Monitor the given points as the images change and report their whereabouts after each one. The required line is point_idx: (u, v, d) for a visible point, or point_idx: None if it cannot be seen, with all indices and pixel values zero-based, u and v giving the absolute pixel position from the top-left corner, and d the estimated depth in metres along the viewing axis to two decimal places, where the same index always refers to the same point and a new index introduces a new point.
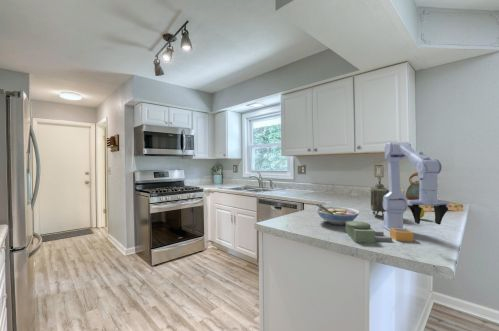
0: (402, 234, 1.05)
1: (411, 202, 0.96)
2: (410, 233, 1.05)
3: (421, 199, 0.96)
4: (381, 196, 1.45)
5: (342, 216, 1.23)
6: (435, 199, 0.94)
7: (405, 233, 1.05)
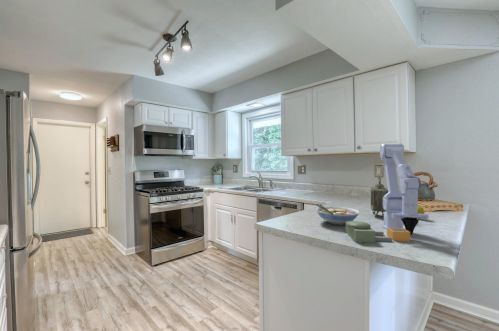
0: (399, 233, 1.05)
1: (394, 215, 1.07)
2: (407, 233, 1.04)
3: (403, 212, 1.07)
4: (381, 196, 1.45)
5: (342, 216, 1.23)
6: (416, 213, 1.05)
7: (402, 233, 1.05)
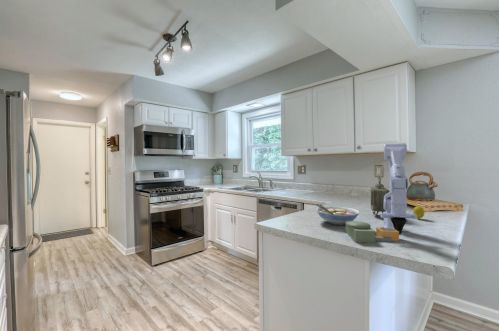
0: (388, 233, 1.05)
1: (383, 215, 1.08)
2: (396, 232, 1.05)
3: (392, 212, 1.08)
4: (381, 196, 1.45)
5: (342, 216, 1.23)
6: (404, 212, 1.05)
7: (391, 232, 1.05)
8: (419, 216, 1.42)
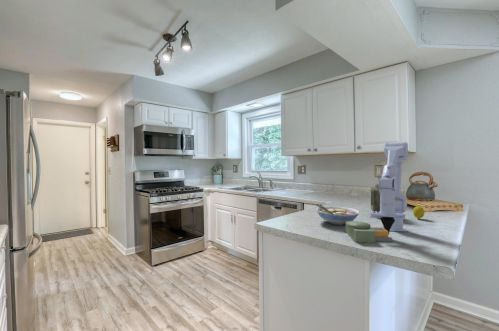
0: (377, 233, 1.06)
1: (372, 215, 1.08)
2: (385, 232, 1.06)
3: (381, 212, 1.08)
4: None
5: (342, 216, 1.23)
6: (392, 212, 1.06)
7: (380, 232, 1.06)
8: (419, 216, 1.42)
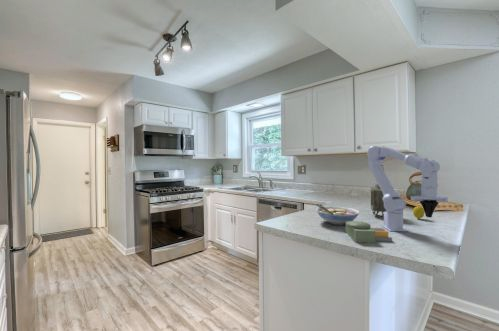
0: (377, 233, 1.06)
1: (414, 198, 1.09)
2: (385, 232, 1.06)
3: (423, 195, 1.09)
4: (381, 196, 1.45)
5: (342, 216, 1.23)
6: (435, 195, 1.06)
7: (380, 232, 1.06)
8: (419, 216, 1.42)
